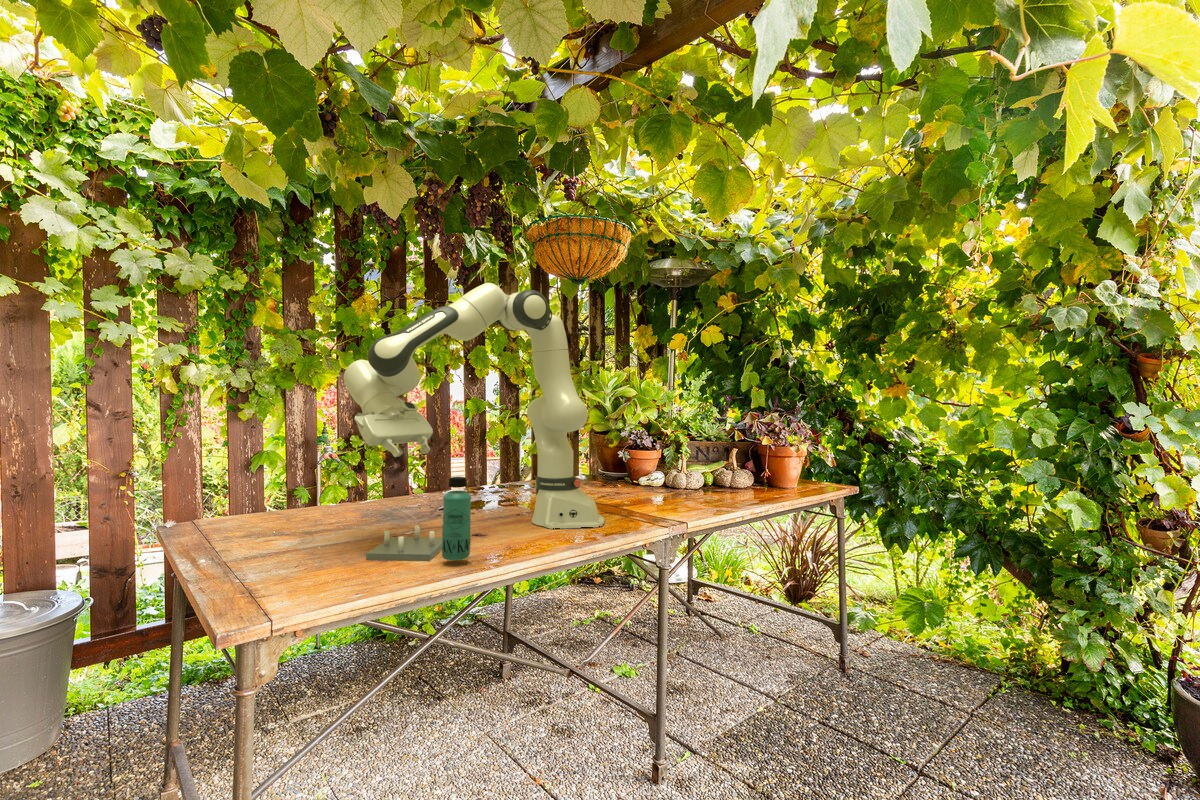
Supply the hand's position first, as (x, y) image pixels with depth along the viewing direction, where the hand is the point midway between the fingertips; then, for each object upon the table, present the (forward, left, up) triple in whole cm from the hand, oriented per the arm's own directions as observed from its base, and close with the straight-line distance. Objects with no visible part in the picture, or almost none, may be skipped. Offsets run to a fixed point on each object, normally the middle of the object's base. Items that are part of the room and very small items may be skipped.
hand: (413, 453), depth 137 cm
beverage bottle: (-13, +9, -24) cm, 29 cm away
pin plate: (+1, 0, -24) cm, 24 cm away
